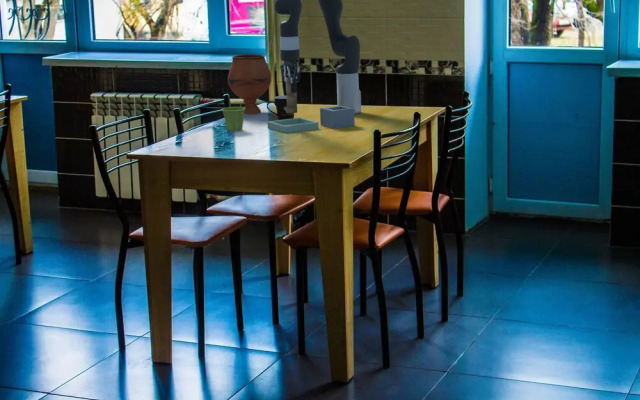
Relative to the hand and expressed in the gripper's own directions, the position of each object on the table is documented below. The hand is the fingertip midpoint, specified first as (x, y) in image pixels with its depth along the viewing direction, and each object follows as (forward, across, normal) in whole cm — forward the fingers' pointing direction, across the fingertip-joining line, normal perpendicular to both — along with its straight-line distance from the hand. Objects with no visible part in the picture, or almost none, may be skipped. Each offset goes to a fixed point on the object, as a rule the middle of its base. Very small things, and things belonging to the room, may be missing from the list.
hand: (291, 91), depth 410 cm
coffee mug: (+15, +19, -5) cm, 25 cm away
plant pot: (+15, +12, +20) cm, 28 cm away
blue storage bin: (+15, -6, -17) cm, 23 cm away
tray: (+15, 0, 0) cm, 15 cm away
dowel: (+8, 0, 0) cm, 8 cm away
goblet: (+15, +49, -5) cm, 51 cm away
